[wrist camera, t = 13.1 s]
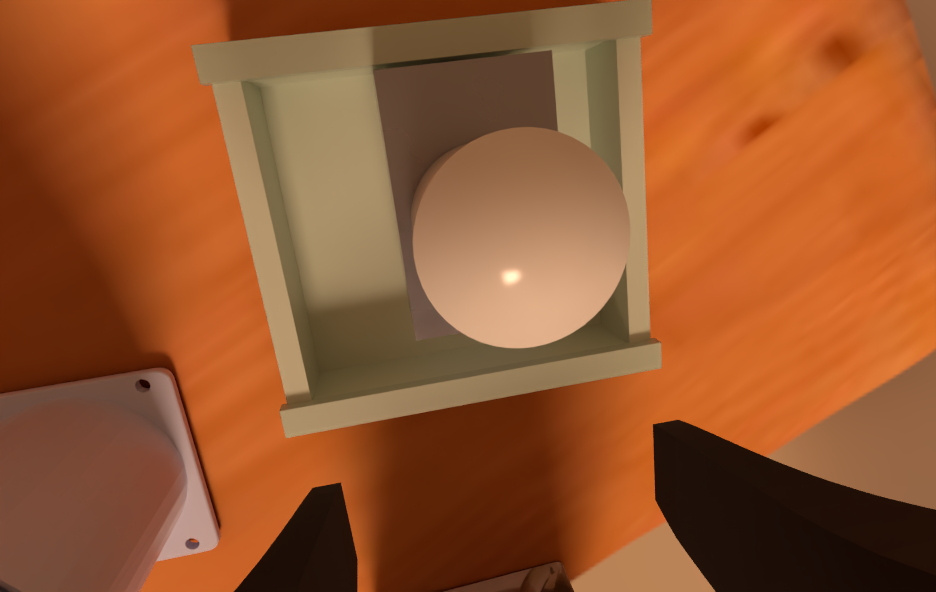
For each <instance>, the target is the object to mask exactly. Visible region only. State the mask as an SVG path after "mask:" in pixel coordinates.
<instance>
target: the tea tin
mask: <svg viewBox="0 0 936 592" xmlns="http://www.w3.org/2000/svg"><path fill="white" fill-rule="evenodd" d="M373 79H374V91H375V98H376V104H377V110H378V116H379V123H380V129H381V135H382V141H383V148H384V154H385V160H386V166H387V173H388V179H389V185H390V191H391V198H392V204H393V210H394V216H395V223H396V229H397V235H398V241H399V248H400V254H401V260H402V266H403V272H404V279H405V285H406V291H407V297H408V302H409V308H410V313H411V318H412V323H413V328H414V333H415V338H416V341H417V340H423V339H429V338H435V337H440V336H446V335H452V334H458V333H461V332H460V331H458V330H457V329H455V328H454V327H453V326H452V325H451V324H449V323H448V322H447V321H446V320H445V319H444V318H443V317H442V316H441V315H440V314H439V313H438V312H437V310H436V309H435V308H434V306H433V305H432V303H431V302H430V301H429V299H428V297H427V295H426V293H425V291H424V289H423V287H422V285H421V282H420V279H419V277H418V274H417V271H416V266H415V261H414V257H413V244H412V240H413V231H412V225H411V208H412V203H413V198H414V195H415V192H416V189H417V187H418V184H419V182H420V180H421V179H422V177H423V175H424V174H425V172H426V171H427V170H428V169H429V167H430V166H431V165H432V164H433V163H434V162H435V161H436V160H437V159H438V158H440V157H441V156H442V155H444V154H445V153H447V152H448V151H450V150H452V149H454V148H456V147H458V146H461V145H464V144H467V143H469V142H471V141H473V140H475V139H477V138H479V137H481V136H483V135H486V134H489V133H492V132H495V131H499V130H504V129H510V128H517V127H536V128H545V129H550V130H554V131H558V125H557V111H556V98H555V85H554V71H553V58H552V50H549V51H540V52H531V53H522V54H513V55H505V56H496V57H487V58H478V59H469V60H460V61H451V62H442V63H433V64H424V65H415V66H406V67H397V68H388V69H379V70H373Z"/></svg>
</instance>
